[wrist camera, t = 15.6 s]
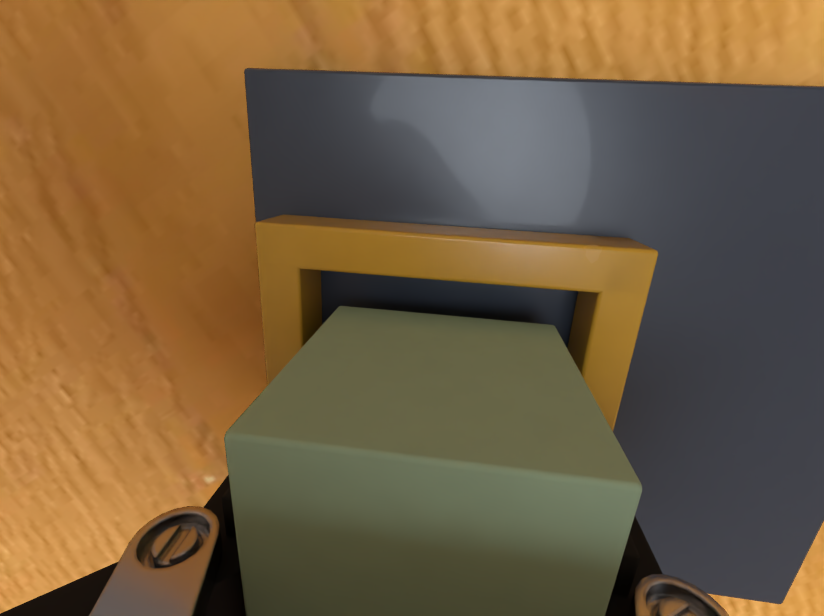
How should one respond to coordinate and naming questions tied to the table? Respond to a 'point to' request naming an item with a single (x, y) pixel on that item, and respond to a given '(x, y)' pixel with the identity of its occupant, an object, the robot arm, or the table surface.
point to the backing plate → (584, 267)
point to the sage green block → (428, 475)
